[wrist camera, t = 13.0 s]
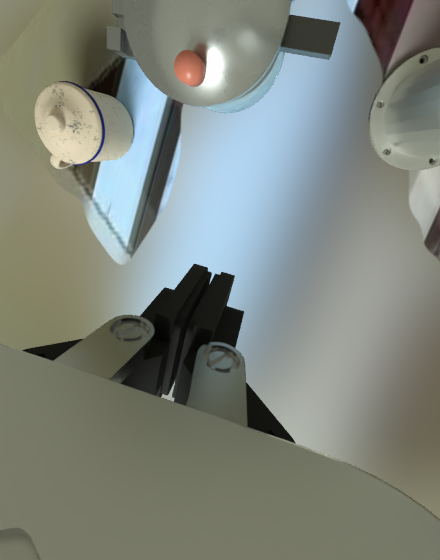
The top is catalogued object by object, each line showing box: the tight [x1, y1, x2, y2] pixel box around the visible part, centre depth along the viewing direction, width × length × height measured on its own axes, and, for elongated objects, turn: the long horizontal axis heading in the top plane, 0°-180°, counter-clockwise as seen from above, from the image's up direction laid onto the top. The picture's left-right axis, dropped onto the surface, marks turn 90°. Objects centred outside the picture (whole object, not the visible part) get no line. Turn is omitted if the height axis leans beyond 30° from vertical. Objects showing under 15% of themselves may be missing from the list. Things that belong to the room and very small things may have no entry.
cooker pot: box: [107, 15, 340, 113], centre depth 32 cm, size 21×14×12 cm, turn 80°
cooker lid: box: [112, 0, 291, 107], centre depth 25 cm, size 16×15×3 cm
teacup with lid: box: [35, 81, 133, 169], centre depth 39 cm, size 12×9×12 cm
